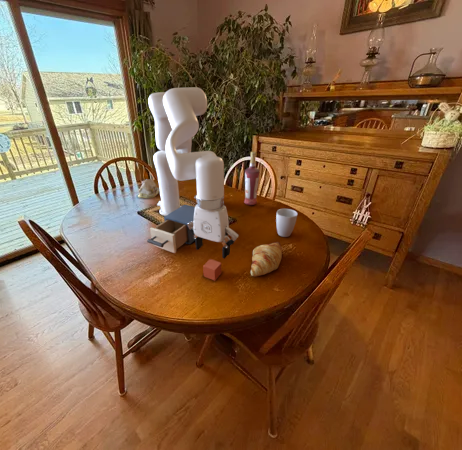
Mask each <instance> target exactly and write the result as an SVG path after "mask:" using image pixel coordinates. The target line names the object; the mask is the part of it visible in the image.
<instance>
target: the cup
mask: <svg viewBox="0 0 462 450" xmlns="http://www.w3.org/2000/svg"><path fill="white" fill-rule="evenodd" d="M275 216H276V217H275V218H276V219H275V222H276V232H277V234H278V236H280V237H283V238H288V237H290V236H291V234H292V233H293V231H294V229H295V225H296V223H297V220H298V219H297V218H298V212H297V211H296V210H294V209H291V208H280V209H277V211H276V215H275Z"/></svg>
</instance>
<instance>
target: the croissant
mask: <svg viewBox="0 0 462 450" xmlns="http://www.w3.org/2000/svg"><path fill="white" fill-rule="evenodd" d="M282 251H283V247H282V245H281V242H279V241H276V242H272V243H268V244H260V245H258V246H256V247H255V248H254V249H253V250H252V257H251V260H252V262H251V265H250V266H251V269H250V276H251V277H259V276H264V275H266V274H269V273H271V272H273V271H276V270H277V269H278V268H279V266H280V264H281V260H282V257H283V252H282Z"/></svg>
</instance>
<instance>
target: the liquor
mask: <svg viewBox="0 0 462 450" xmlns="http://www.w3.org/2000/svg"><path fill="white" fill-rule="evenodd" d="M256 157H257V151H250V160H249V161H250V162H249V167H247V168H245V170H244V201H243V203H244V204H245V205H247V206H249V207H252V206H255V205H256V204H257V203H258V201H257V196H258V187H259V186H258V185H259V180H260V169H259V168H258V167H256Z"/></svg>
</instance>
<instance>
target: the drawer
mask: <svg viewBox="0 0 462 450" xmlns="http://www.w3.org/2000/svg"><path fill="white" fill-rule="evenodd" d="M149 231H150V237H151V238H148V239H147V240H146V242H147V243H149V244H151V245H152V246H153V247H157V248H159V249H162V250H164V251H167V252H170V253H173V254H176V253H177V250H178V249H180V247H182V246H183V245H184V244H186V243H185V242H186V241H188V231H187V225H186V224H182V223H178V222H175V221H171V220H168V219H167V220H166V221H165V220H164V221H163V222H161V223H159V224H157V225H156V226H155V227H150V228H149Z"/></svg>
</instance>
